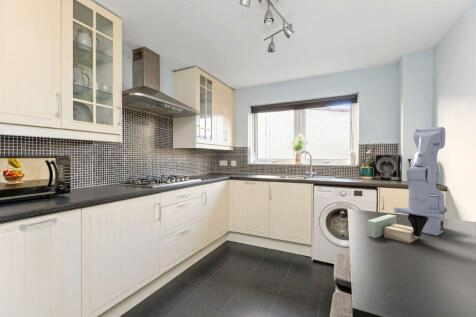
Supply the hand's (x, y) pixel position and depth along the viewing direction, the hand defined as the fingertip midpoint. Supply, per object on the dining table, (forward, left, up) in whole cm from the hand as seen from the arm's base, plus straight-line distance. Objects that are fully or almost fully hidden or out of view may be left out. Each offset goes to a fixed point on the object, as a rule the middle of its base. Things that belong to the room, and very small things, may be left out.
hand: (417, 235), depth 82 cm
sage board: (0, -12, -2) cm, 12 cm away
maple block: (0, -5, -2) cm, 6 cm away
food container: (-30, -2, -2) cm, 30 cm away
